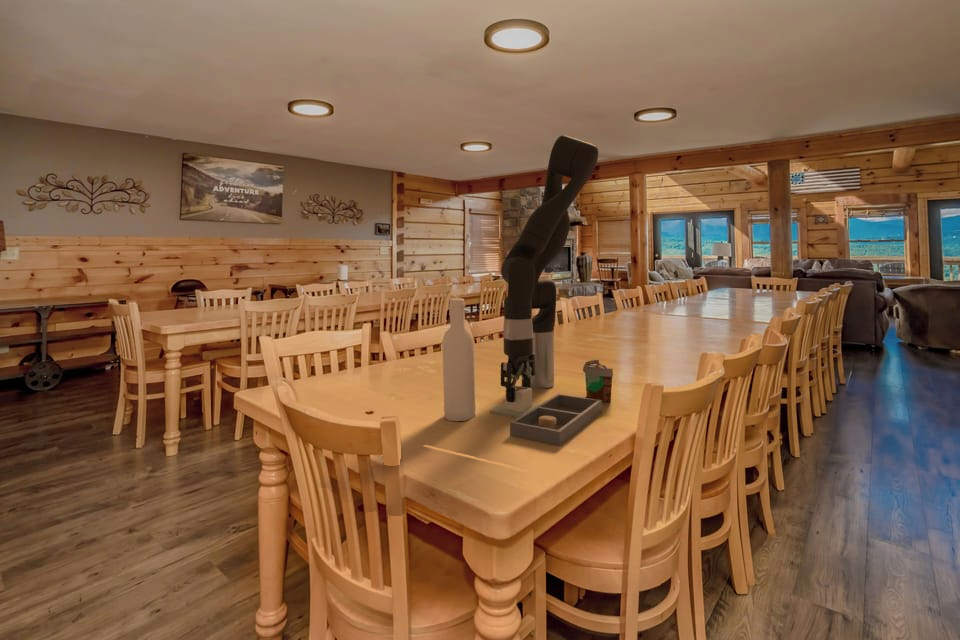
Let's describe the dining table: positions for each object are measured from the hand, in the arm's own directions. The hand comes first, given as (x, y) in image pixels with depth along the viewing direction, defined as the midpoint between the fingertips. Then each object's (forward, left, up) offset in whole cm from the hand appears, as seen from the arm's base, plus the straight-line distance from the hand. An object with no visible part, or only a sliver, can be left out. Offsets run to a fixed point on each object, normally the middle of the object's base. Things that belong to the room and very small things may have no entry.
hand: (518, 397), depth 127 cm
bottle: (-11, -11, -4) cm, 16 cm away
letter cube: (0, 0, -3) cm, 3 cm away
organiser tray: (+13, -4, -4) cm, 14 cm away
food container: (+13, +20, -4) cm, 24 cm away
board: (0, 0, -4) cm, 4 cm away
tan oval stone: (+13, -10, -3) cm, 17 cm away
